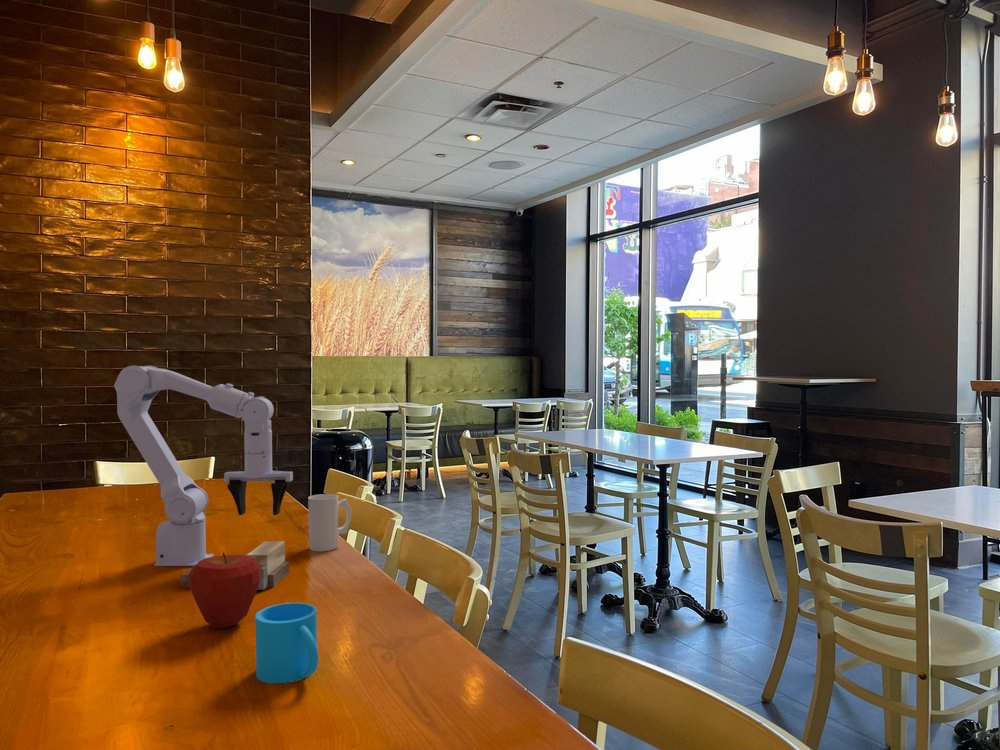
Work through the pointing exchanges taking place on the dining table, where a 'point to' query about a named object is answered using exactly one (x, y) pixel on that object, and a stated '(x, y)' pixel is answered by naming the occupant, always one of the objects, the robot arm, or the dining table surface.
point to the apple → (224, 588)
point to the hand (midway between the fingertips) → (259, 514)
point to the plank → (272, 577)
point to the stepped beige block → (268, 559)
